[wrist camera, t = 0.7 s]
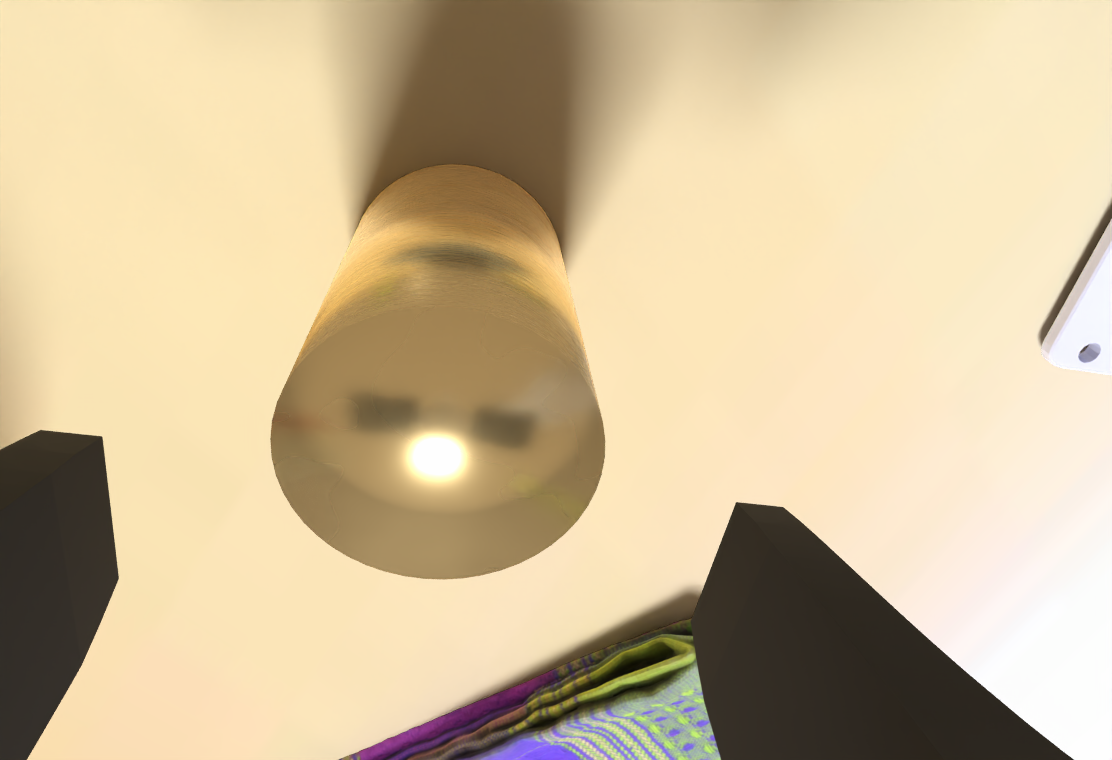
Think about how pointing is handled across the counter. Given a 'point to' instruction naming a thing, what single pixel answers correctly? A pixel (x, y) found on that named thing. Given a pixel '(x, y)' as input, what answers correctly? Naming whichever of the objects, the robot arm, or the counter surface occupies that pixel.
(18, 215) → the counter surface
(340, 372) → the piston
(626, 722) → the dish towel
